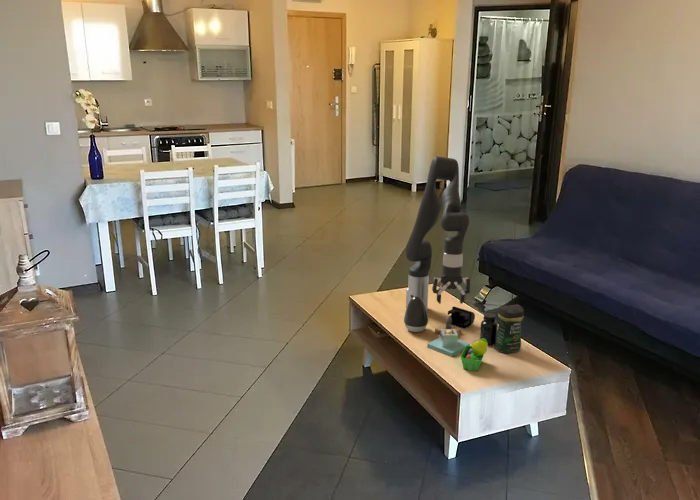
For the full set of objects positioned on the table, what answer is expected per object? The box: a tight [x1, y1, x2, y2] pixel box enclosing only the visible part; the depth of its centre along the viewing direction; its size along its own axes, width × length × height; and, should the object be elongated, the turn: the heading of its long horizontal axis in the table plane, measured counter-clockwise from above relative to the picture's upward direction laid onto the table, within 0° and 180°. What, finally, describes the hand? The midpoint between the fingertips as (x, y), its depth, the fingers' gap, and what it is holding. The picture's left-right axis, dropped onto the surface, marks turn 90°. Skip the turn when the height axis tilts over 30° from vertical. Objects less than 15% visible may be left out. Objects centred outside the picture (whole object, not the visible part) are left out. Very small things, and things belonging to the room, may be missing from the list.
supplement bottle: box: [479, 312, 499, 347], centre depth 235 cm, size 7×7×12 cm
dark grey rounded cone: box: [403, 295, 429, 333], centre depth 247 cm, size 10×10×15 cm
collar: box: [439, 329, 459, 347], centre depth 232 cm, size 6×6×5 cm
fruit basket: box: [460, 338, 488, 372], centre depth 216 cm, size 11×9×11 cm
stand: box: [434, 316, 463, 336], centre depth 245 cm, size 8×8×7 cm
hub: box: [426, 330, 471, 357], centre depth 232 cm, size 12×12×7 cm
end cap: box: [447, 306, 476, 330], centre depth 254 cm, size 10×7×7 cm
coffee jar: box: [494, 303, 525, 354], centre depth 228 cm, size 10×8×19 cm
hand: (450, 302), depth 227 cm, fingers open, 8 cm apart
